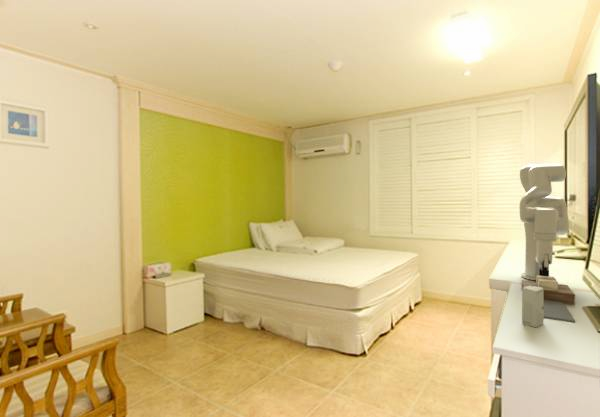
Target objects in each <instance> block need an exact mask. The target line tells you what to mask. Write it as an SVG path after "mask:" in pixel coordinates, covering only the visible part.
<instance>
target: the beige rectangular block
mask: <svg viewBox="0 0 600 417" xmlns="http://www.w3.org/2000/svg"><path fill="white" fill-rule="evenodd" d="M549 276H550V275H549ZM549 276H539V275H536V281H535V282H536V284H537V286H538V287H541V288H544V289H543V290H550V291H558V284H559V283H558V280H557V279H556V278H555V277H554V276H551V277H549Z"/></svg>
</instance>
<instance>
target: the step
mask: <svg viewBox="0 0 600 417" xmlns="http://www.w3.org/2000/svg"><path fill="white" fill-rule="evenodd" d="M526 286H536V287H538V286H537V284H536V281H534V280H524V279H523V280H521V288H520V289H521V290H522V288H524V287H526ZM543 295H544V300H548V301H556V302H563V303H564V304H565V305H574V306H575V302H576V298H575V297H576V294H575V293H574V292H573V290H572V289H571V288H570V286H569V285H568V284H560V283H558V291H550V290H543Z"/></svg>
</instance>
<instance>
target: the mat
mask: <svg viewBox="0 0 600 417" xmlns="http://www.w3.org/2000/svg"><path fill="white" fill-rule="evenodd" d="M543 319H550V320H557V321H562V322H563V321H565V322H571V323H576V320H575V318H574V317H573V315H572V314H571V312H570V310H569V308H568V307H567V306H566V304H564V303H563V302H556V301H548V300H544V316H543Z"/></svg>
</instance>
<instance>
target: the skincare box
mask: <svg viewBox="0 0 600 417" xmlns="http://www.w3.org/2000/svg"><path fill="white" fill-rule="evenodd" d="M543 289H544V288H541V287H536V286H526V287H524V288H522V289H521V292H522V293H521V295H522V296H521V323H522V324H524V325H525V326H529V327H533V328H537V327H540V326H542V325H543V324H544V318H543V316H544V295H543Z"/></svg>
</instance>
